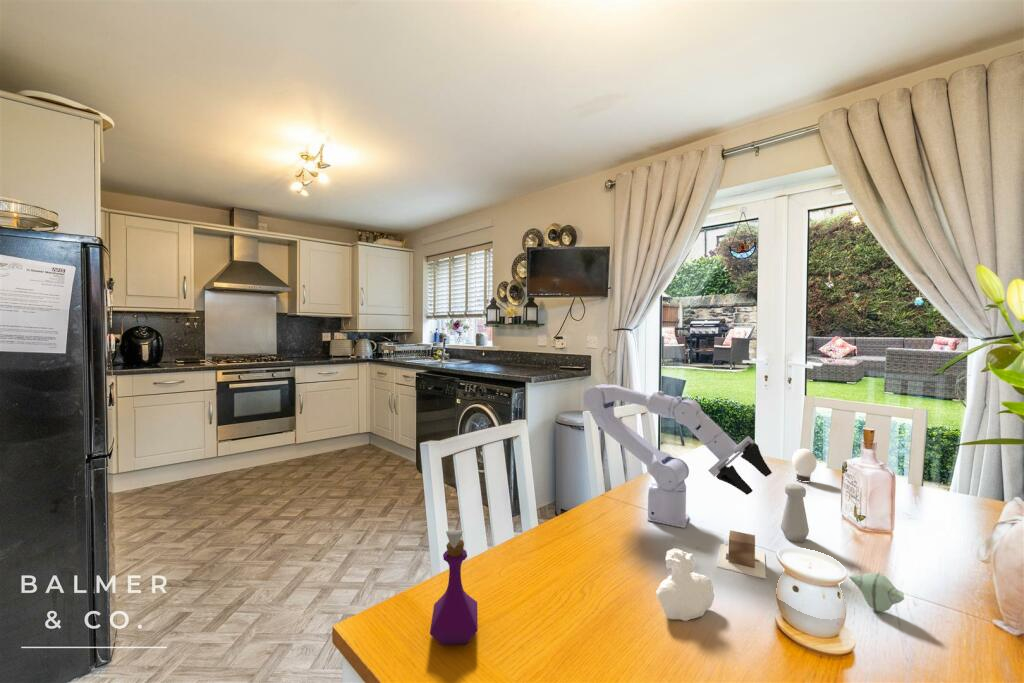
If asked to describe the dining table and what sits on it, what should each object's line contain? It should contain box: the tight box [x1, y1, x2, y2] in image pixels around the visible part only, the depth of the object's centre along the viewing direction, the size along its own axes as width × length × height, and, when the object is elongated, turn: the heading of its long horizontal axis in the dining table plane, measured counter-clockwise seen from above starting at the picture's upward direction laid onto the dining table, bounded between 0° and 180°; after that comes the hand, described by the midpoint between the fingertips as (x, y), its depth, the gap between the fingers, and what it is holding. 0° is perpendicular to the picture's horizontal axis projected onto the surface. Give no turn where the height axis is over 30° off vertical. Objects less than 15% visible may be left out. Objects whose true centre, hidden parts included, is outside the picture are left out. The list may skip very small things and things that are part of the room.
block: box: [728, 530, 756, 568], centre depth 96 cm, size 5×5×5 cm
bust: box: [655, 547, 715, 622], centre depth 80 cm, size 12×8×11 cm
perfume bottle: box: [429, 529, 479, 646], centre depth 72 cm, size 8×8×18 cm
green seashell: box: [848, 571, 905, 613], centre depth 79 cm, size 8×4×7 cm, turn 34°
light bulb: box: [791, 448, 817, 482], centre depth 146 cm, size 7×7×11 cm
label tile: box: [716, 543, 767, 580], centre depth 96 cm, size 9×11×1 cm
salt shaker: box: [780, 483, 810, 543], centre depth 106 cm, size 6×6×13 cm
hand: (759, 483), depth 103 cm, fingers open, 7 cm apart
